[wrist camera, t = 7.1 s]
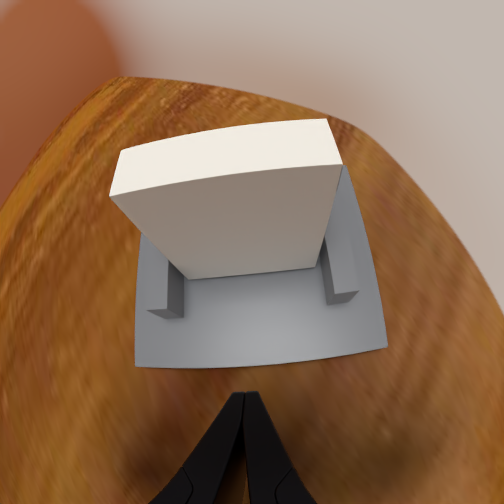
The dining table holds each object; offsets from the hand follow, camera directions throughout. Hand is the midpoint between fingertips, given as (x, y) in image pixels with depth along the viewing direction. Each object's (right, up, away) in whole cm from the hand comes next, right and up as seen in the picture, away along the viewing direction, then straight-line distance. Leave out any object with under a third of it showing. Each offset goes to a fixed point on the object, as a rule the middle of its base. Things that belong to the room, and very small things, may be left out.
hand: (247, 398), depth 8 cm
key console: (0, +4, +9) cm, 10 cm away
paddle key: (0, +5, +7) cm, 9 cm away
